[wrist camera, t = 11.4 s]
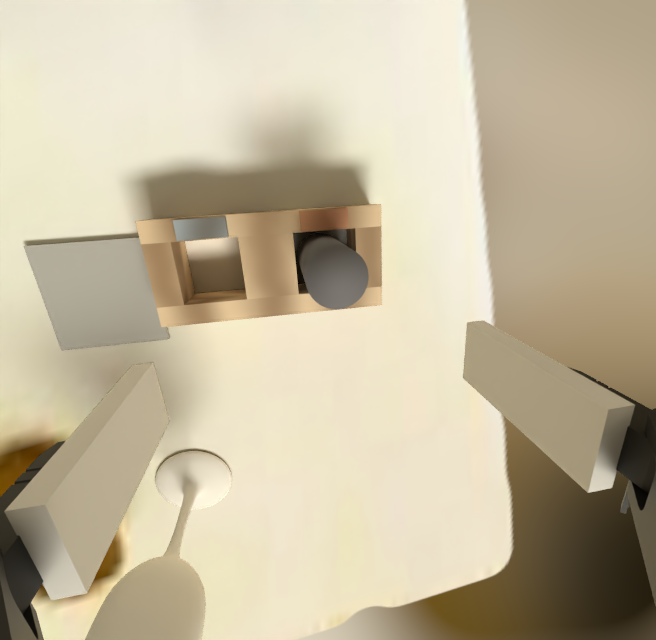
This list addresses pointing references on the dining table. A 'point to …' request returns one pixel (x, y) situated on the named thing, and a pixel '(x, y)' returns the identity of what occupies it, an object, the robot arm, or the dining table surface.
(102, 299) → the pad
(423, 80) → the dining table surface
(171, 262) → the socket block
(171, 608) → the wineglass
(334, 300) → the plug
